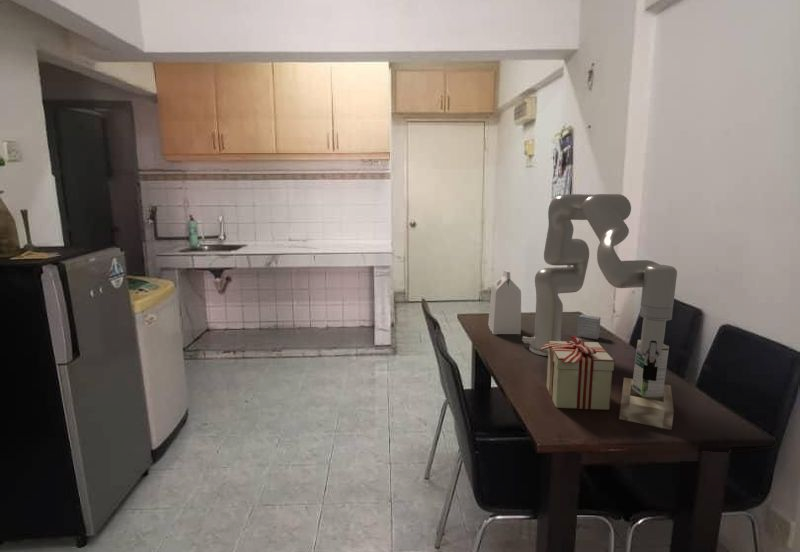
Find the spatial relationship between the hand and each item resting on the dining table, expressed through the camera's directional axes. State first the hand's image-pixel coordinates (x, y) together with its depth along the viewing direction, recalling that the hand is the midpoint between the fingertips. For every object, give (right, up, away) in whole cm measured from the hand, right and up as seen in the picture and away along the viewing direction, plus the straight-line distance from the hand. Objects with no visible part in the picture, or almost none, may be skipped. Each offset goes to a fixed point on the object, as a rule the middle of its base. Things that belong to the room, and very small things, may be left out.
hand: (649, 373), depth 126 cm
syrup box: (0, -6, +1) cm, 6 cm away
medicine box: (+10, +1, +66) cm, 66 cm away
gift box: (-18, -9, +8) cm, 22 cm away
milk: (-23, +3, +74) cm, 77 cm away
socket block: (0, -10, +2) cm, 11 cm away
